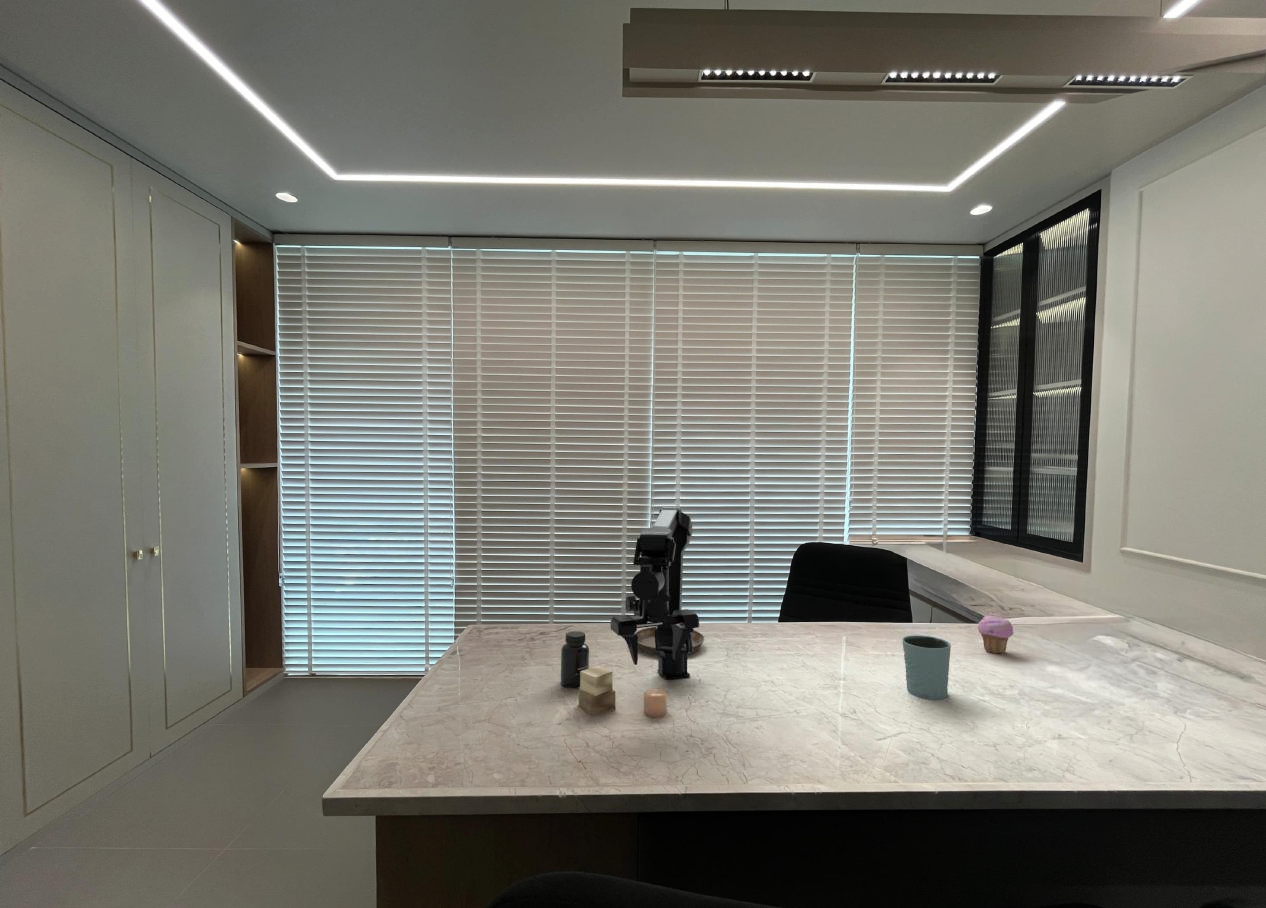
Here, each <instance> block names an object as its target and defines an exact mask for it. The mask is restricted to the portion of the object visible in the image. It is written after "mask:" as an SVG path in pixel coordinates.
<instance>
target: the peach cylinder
mask: <svg viewBox="0 0 1266 908" xmlns="http://www.w3.org/2000/svg"><path fill="white" fill-rule="evenodd" d="M667 700H668V694H667V692H666V691H665V690H662V689H657V688H656V689H654V688H653V689H652V688H651V689H648V690H645V691H644V692H643V714H644V715H645V716H647V717H649V718H661V717H664V716H666V715H667V713H668V709H667V708H668V705H667V704H668V703H667V702H668V701H667Z"/></svg>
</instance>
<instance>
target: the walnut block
mask: <svg viewBox="0 0 1266 908" xmlns="http://www.w3.org/2000/svg"><path fill="white" fill-rule="evenodd" d="M578 706H580V707H581V708H582V709H583V710H584V711H585V712H587V714H589V715H595V714H599V713H604V712H609V711H612V710H615V709H616V690H615V689H614V688H612V690H610V691H607V692H605V693H602V694H599V695H597V696H595V695H592V694H590V693H587V692H585V691H582V690H580V687H578Z"/></svg>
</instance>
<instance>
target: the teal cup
mask: <svg viewBox="0 0 1266 908" xmlns="http://www.w3.org/2000/svg"><path fill="white" fill-rule="evenodd" d="M901 641H902V648H903V652H904V654H903V657H904V659H903V660H904V664H905V665H904V667H905V673H906V674H905V679H906V691H907V692H908V693H909V694H911V695H913V696H915V697H918V698H921V699H925V700H926V699H927V700H933V701H934V700H943V699H946V698H947V697H948V690H949V688H948V686H949V674H950V673H949V671H950V659H951V658H950V657H951V648H952V647H951V646H952V645H951V643H950V642H949V641H947V640H945V639H943V638H939V637H935V636H930V635H923V634H922V635H919V634H918V635H915V634H914V635H907V636H905V637H903V638H902V640H901Z"/></svg>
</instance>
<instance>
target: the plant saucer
mask: <svg viewBox="0 0 1266 908" xmlns="http://www.w3.org/2000/svg"><path fill="white" fill-rule="evenodd" d="M656 627H657V626H653V627H644V628H641V629H640V630H637V631H636V632H635V634H636V635H637V636H638V648H641V649H640V650H643V651H645V652H646V653H649V654H651V655H656V656H660V651H656V646H655V629H656ZM690 634H691V635H692V642H693V652H689V654H688V655H690V654H693V653H694V652H695V651H697V650H698V649H699V648H700V647H701V646H702V644H703V643H704V641H705V636H704V635H703V634H702V633H700V632H699V631H697V630H695V629H694V632H690ZM685 645H686V644H685Z"/></svg>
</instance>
